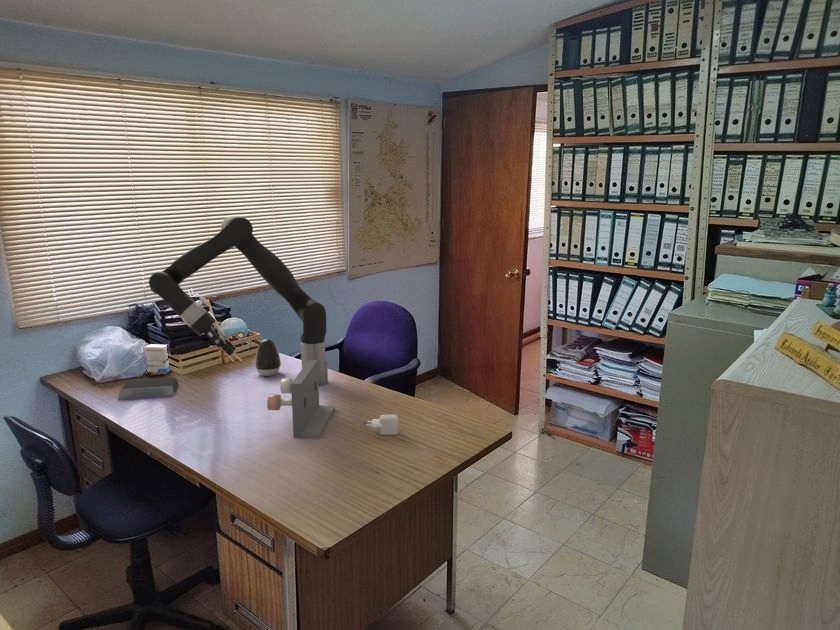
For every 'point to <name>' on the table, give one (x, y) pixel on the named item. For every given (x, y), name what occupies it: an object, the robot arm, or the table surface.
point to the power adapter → (385, 424)
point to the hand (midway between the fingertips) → (233, 352)
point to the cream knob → (286, 385)
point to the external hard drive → (149, 388)
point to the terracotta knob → (277, 402)
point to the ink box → (157, 358)
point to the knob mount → (308, 404)
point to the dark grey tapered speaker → (267, 358)
